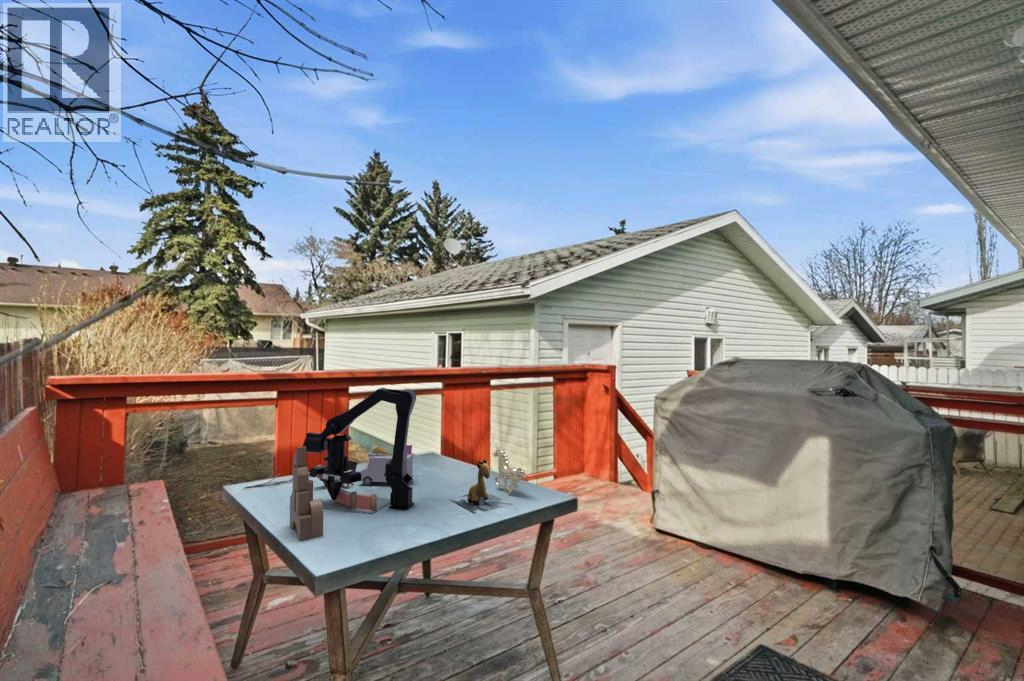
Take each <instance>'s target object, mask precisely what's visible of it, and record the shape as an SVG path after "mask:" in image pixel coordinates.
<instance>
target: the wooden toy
mask: <svg viewBox="0 0 1024 681" xmlns="http://www.w3.org/2000/svg"><path fill="white" fill-rule="evenodd" d="M294 453H295V454H294V457H293V460H292V464H293V466H292V491H291V494H290V495H289V496H290V497H289V526H290V528H291V529H292V530H296V537H297V538H298V540H299V541H300V540H302V541H305V540H311V539H314V538H318V536H319V537H322V536H324V509H323V506H322V504H323V502H322V499H320V498H319V499H314V480H313V479H310V476H309V469H308V466H307V453H306V446H304V447H303V446H298V447H296V449H295V452H294Z"/></svg>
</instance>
